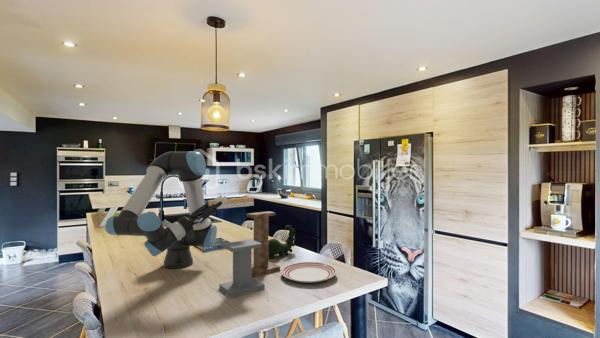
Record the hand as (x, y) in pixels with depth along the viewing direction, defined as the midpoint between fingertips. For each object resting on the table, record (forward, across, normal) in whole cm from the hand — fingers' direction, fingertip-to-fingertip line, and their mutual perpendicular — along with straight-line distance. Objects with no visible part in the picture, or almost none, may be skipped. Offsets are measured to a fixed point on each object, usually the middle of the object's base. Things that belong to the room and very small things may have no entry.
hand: (224, 198), depth 147 cm
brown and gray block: (+1, 0, -6) cm, 6 cm away
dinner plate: (+10, +21, -52) cm, 57 cm away
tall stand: (-2, 0, -44) cm, 44 cm away
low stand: (-19, +15, -34) cm, 42 cm away
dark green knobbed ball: (+17, -17, -56) cm, 61 cm away
